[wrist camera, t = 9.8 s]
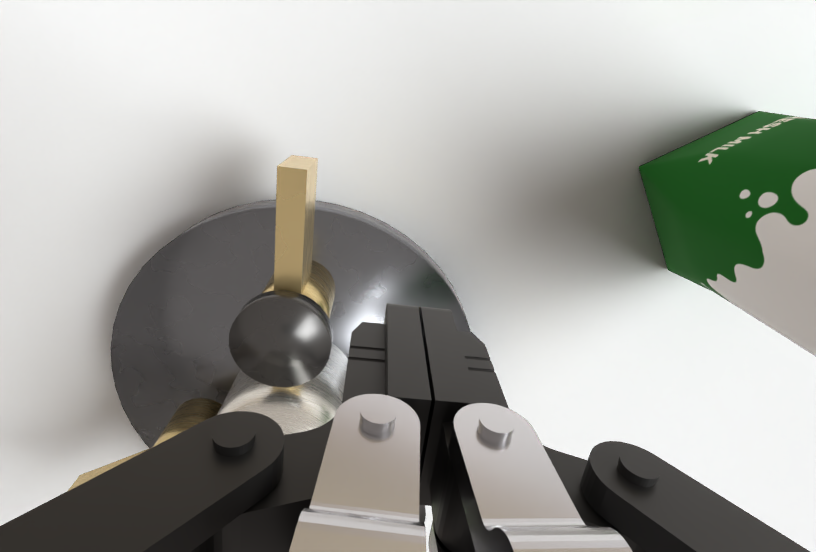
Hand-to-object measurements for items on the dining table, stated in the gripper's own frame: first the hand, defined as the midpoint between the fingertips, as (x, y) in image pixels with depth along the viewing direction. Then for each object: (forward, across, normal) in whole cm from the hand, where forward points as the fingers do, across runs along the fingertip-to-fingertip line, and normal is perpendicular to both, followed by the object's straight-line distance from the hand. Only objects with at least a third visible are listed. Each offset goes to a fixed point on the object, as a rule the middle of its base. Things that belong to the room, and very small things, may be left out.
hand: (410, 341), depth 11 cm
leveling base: (+17, +5, +12) cm, 21 cm away
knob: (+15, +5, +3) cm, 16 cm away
